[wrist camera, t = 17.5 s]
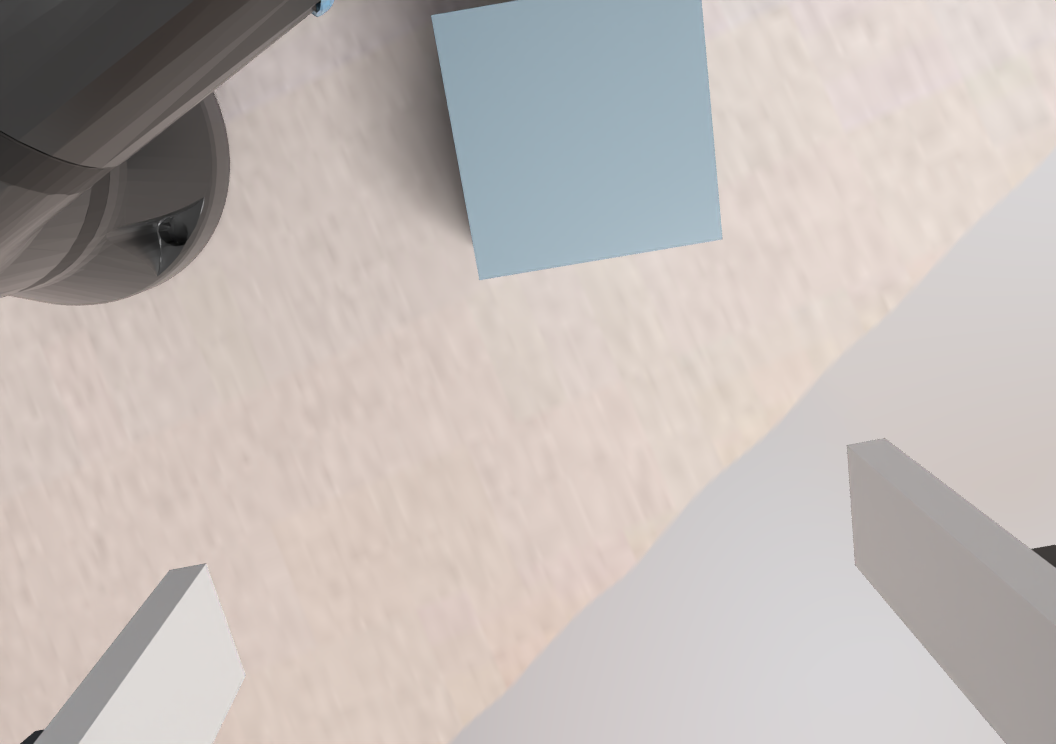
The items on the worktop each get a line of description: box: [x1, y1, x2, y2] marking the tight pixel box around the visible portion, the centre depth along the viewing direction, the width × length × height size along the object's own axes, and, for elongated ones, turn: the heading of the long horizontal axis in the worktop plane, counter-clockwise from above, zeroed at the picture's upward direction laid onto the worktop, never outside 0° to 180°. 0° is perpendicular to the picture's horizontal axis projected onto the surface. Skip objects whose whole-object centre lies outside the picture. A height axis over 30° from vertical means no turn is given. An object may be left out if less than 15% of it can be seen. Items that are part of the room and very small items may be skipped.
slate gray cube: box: [431, 0, 722, 280], centre depth 34 cm, size 10×10×9 cm
